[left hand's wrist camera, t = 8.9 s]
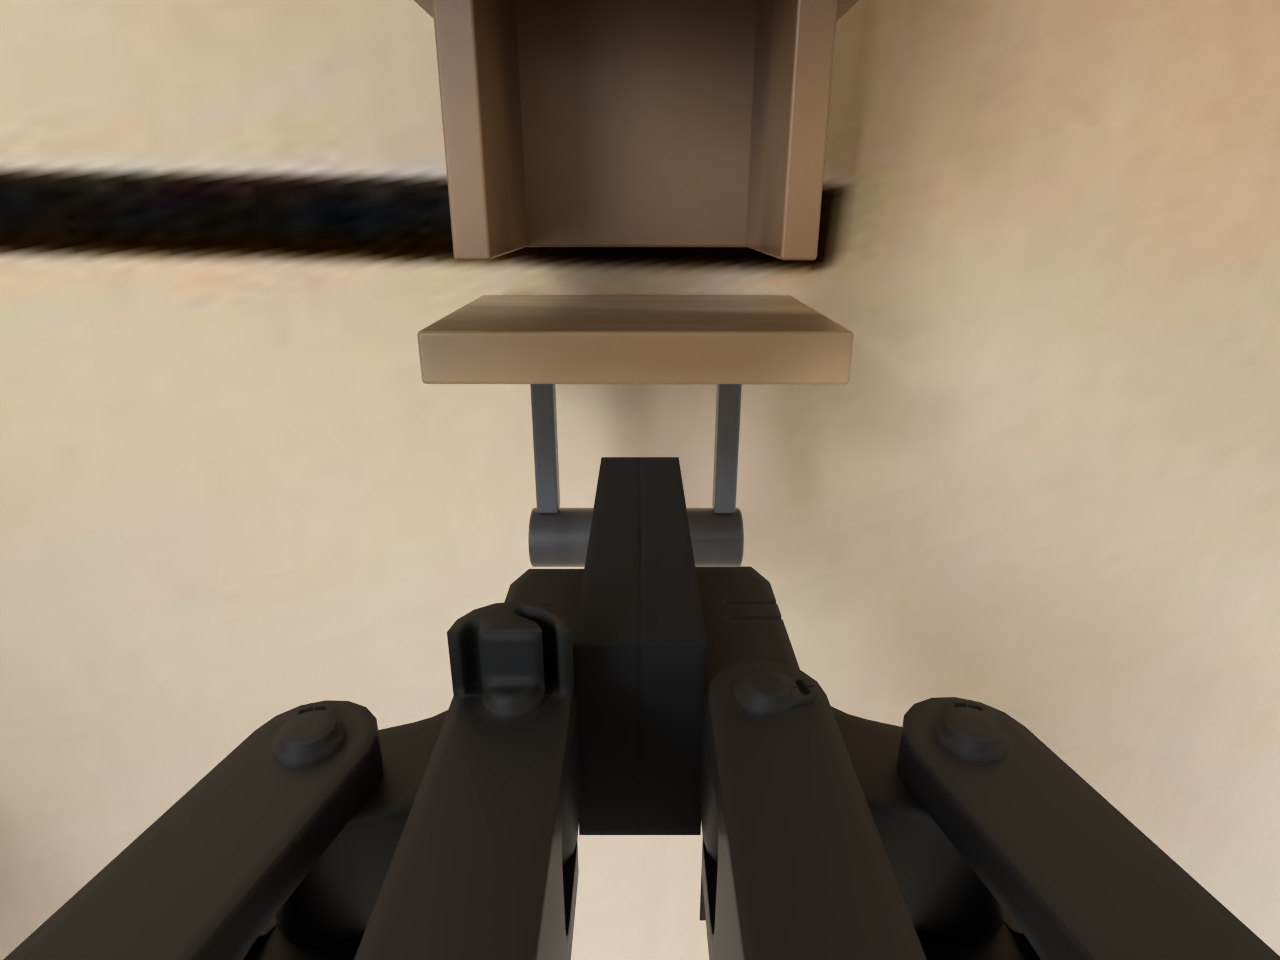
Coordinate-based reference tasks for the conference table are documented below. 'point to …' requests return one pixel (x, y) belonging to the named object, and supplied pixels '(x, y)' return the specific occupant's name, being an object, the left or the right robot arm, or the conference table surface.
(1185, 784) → the conference table surface
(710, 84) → the drawer
